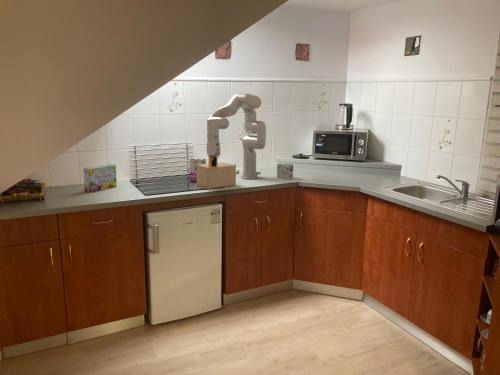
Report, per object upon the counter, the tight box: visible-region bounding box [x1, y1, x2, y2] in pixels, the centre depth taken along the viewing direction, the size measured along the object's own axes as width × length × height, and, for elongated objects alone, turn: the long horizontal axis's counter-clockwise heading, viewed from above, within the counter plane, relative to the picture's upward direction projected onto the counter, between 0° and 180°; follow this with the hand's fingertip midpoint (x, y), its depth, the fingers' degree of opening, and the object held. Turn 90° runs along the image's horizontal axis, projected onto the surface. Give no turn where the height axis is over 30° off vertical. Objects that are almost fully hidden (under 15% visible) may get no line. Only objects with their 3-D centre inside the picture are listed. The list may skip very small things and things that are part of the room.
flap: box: [207, 156, 237, 190], centre depth 279 cm, size 22×2×21 cm, turn 128°
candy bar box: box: [189, 157, 207, 183], centre depth 297 cm, size 11×5×16 cm, turn 62°
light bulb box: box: [276, 162, 294, 180], centre depth 315 cm, size 11×7×11 cm, turn 58°
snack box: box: [82, 163, 117, 193], centre depth 268 cm, size 21×6×15 cm, turn 148°
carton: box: [196, 161, 234, 190], centre depth 286 cm, size 22×14×14 cm, turn 128°
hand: (213, 165), depth 274 cm, fingers closed
